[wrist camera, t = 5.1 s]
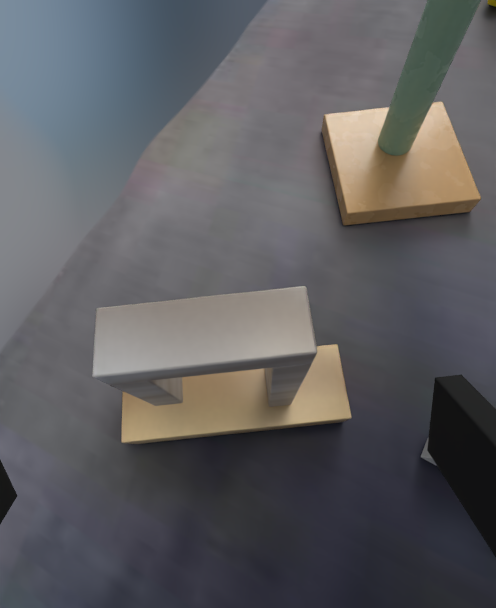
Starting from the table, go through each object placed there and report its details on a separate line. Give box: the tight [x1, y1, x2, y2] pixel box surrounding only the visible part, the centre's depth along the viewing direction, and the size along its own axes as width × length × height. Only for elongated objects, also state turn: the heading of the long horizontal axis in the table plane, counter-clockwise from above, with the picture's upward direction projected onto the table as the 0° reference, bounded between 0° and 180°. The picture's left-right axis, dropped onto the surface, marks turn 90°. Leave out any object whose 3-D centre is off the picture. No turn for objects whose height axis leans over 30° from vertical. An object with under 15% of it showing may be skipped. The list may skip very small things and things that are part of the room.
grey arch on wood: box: [93, 286, 351, 444], centre depth 16 cm, size 4×12×13 cm, turn 96°
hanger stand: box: [322, 0, 481, 225], centre depth 19 cm, size 16×9×17 cm, turn 6°
